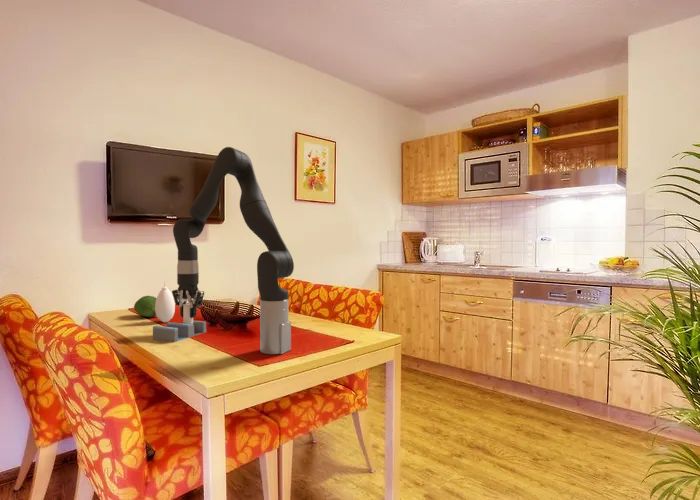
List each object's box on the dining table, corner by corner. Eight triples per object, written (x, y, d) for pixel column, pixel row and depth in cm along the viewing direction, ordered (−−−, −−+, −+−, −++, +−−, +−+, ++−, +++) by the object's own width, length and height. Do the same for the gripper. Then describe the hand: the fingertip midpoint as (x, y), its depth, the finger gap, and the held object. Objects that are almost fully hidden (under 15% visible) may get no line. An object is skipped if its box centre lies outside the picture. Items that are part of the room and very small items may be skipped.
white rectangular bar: (195, 332, 153) (195, 304, 153) (188, 334, 150) (188, 305, 150) (188, 331, 154) (187, 303, 154) (181, 333, 151) (181, 304, 151)
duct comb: (206, 334, 154) (206, 320, 154) (174, 344, 139) (174, 328, 139) (185, 332, 158) (185, 318, 158) (152, 342, 143) (152, 326, 143)
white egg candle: (178, 321, 177) (177, 281, 176) (160, 324, 171) (159, 282, 170) (169, 319, 182) (169, 280, 181) (152, 322, 176) (151, 281, 175)
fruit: (128, 316, 188) (128, 295, 188) (149, 313, 196) (149, 292, 196) (144, 320, 179) (144, 298, 179) (165, 316, 187) (165, 295, 187)
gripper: (209, 272, 152) (210, 316, 153) (180, 270, 157) (180, 314, 158) (195, 273, 145) (196, 320, 146) (165, 272, 150) (166, 317, 151)
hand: (188, 316), depth 152 cm, fingers open, 3 cm apart
